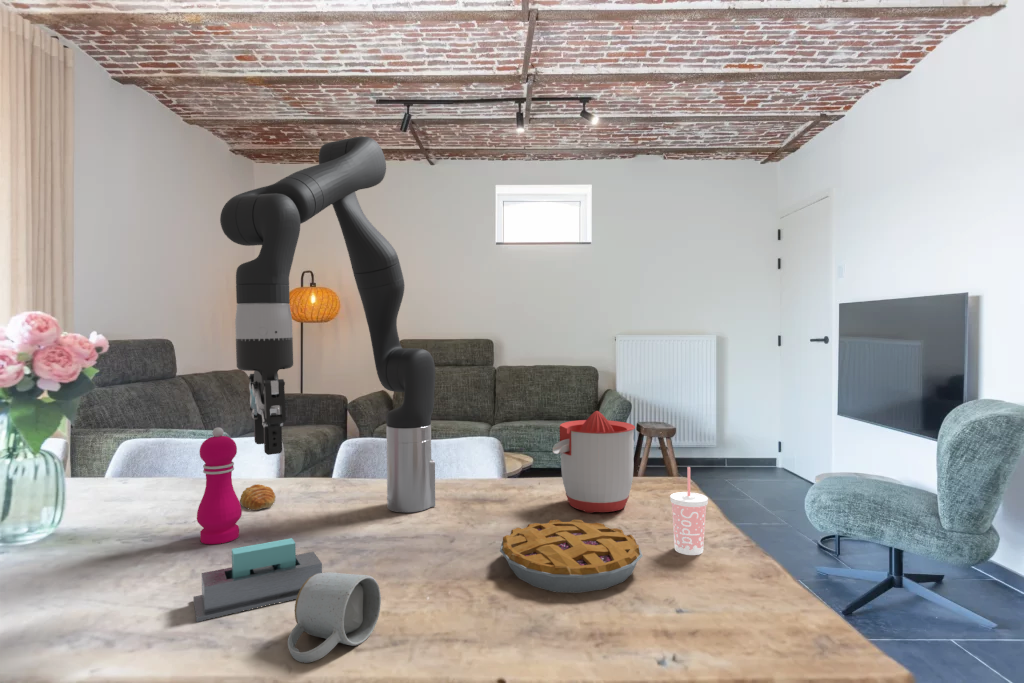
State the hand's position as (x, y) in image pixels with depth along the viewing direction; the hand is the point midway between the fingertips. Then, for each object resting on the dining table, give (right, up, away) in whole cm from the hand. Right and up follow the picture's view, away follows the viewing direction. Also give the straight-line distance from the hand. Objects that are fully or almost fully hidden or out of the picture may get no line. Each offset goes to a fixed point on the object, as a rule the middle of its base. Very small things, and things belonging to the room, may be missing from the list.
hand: (267, 448), depth 86 cm
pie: (+44, -20, +8) cm, 49 cm away
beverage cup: (+65, -20, +14) cm, 69 cm away
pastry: (-19, -20, +42) cm, 51 cm away
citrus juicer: (+52, -19, +40) cm, 68 cm away
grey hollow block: (0, -20, -2) cm, 21 cm away
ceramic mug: (+13, -21, -14) cm, 29 cm away
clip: (0, -20, -2) cm, 20 cm away
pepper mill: (-17, -20, +21) cm, 34 cm away
